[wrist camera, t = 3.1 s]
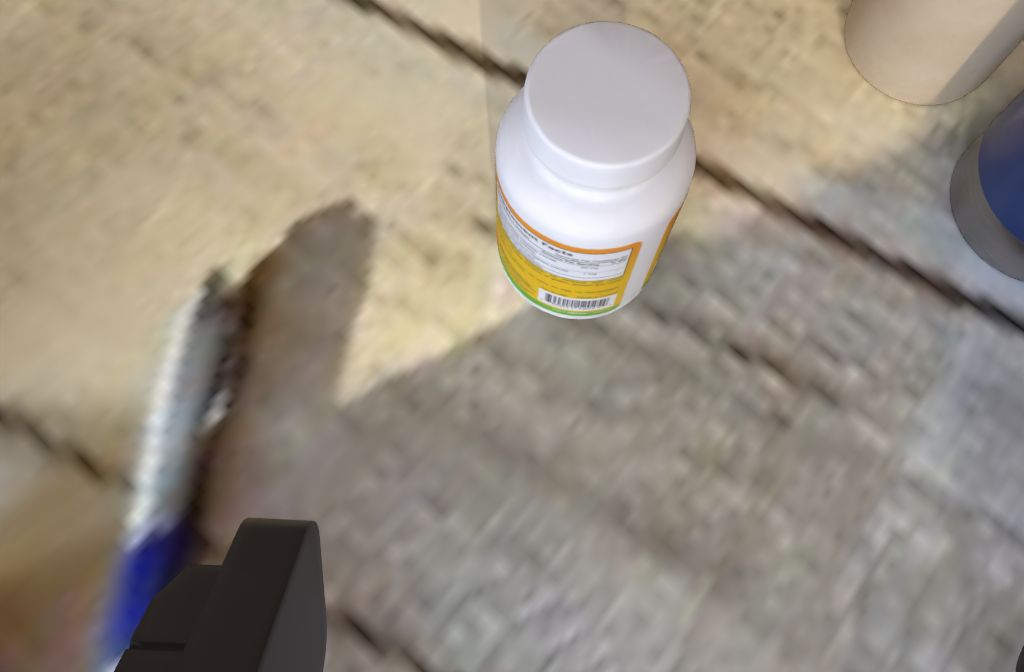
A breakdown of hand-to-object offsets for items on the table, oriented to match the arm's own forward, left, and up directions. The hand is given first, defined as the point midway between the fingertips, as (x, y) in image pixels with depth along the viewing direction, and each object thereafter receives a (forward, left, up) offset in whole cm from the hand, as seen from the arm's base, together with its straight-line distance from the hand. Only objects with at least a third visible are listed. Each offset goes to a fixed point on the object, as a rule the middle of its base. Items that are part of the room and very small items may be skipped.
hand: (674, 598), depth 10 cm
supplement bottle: (-6, +10, -18) cm, 22 cm away
